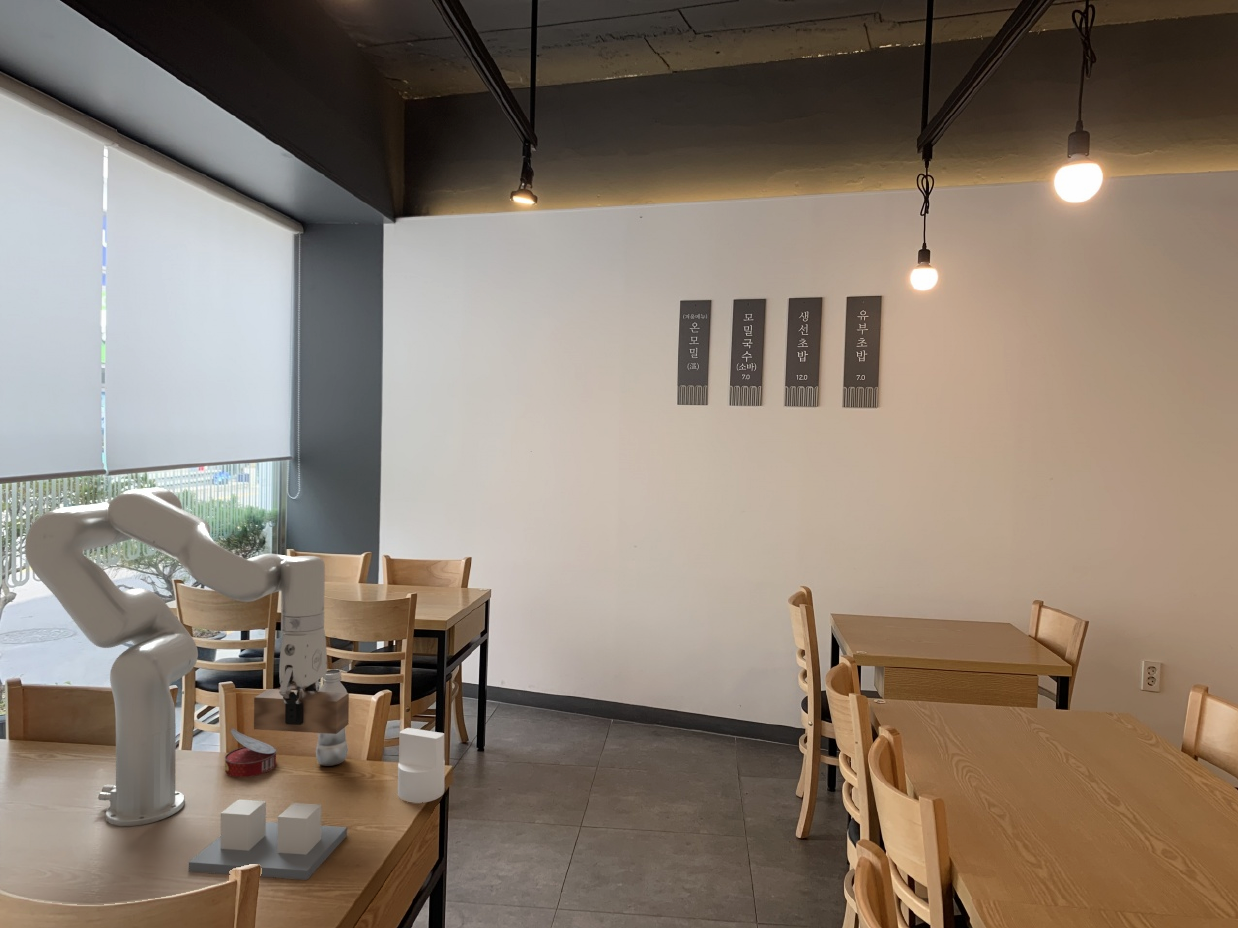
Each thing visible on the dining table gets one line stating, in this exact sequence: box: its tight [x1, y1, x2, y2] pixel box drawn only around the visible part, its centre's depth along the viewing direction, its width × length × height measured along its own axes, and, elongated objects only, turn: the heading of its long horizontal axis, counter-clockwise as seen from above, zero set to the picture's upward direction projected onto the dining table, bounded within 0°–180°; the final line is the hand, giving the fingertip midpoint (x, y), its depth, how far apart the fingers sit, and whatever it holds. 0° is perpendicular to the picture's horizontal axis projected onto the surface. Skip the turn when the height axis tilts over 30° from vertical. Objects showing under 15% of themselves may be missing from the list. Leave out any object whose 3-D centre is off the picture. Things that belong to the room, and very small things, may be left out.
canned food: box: [224, 728, 277, 778], centre depth 164 cm, size 11×10×10 cm
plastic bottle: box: [315, 668, 348, 767], centre depth 166 cm, size 6×7×20 cm
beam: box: [253, 688, 350, 734], centre depth 144 cm, size 16×5×6 cm, turn 84°
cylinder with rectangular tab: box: [397, 727, 446, 804], centre depth 153 cm, size 9×9×12 cm
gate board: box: [188, 799, 348, 881], centre depth 129 cm, size 20×14×8 cm
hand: (301, 717), depth 144 cm, fingers closed on beam, 5 cm apart
